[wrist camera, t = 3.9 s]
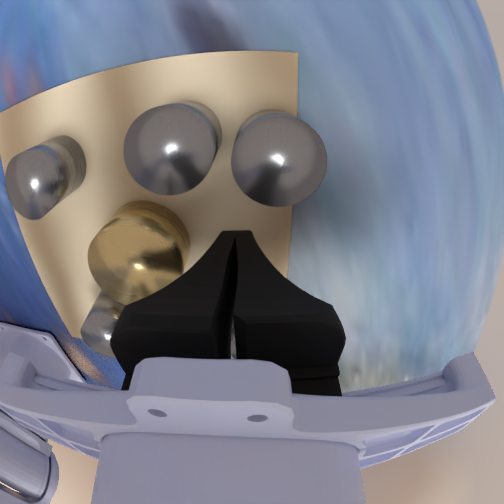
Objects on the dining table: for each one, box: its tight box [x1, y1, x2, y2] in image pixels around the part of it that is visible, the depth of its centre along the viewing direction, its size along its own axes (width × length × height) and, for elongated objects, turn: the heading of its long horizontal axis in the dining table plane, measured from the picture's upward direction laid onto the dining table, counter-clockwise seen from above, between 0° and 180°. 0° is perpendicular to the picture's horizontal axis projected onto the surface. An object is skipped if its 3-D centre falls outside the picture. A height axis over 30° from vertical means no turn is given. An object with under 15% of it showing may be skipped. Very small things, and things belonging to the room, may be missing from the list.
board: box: [0, 51, 298, 339], centre depth 13 cm, size 16×17×1 cm
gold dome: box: [87, 201, 190, 305], centre depth 12 cm, size 4×4×2 cm
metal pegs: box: [5, 101, 327, 359], centre depth 12 cm, size 13×13×3 cm
